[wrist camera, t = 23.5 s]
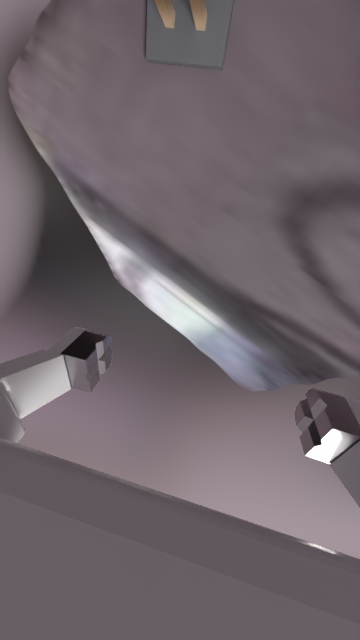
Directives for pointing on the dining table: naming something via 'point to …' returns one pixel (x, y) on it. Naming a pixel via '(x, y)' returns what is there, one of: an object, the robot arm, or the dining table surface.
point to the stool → (168, 13)
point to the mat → (189, 35)
